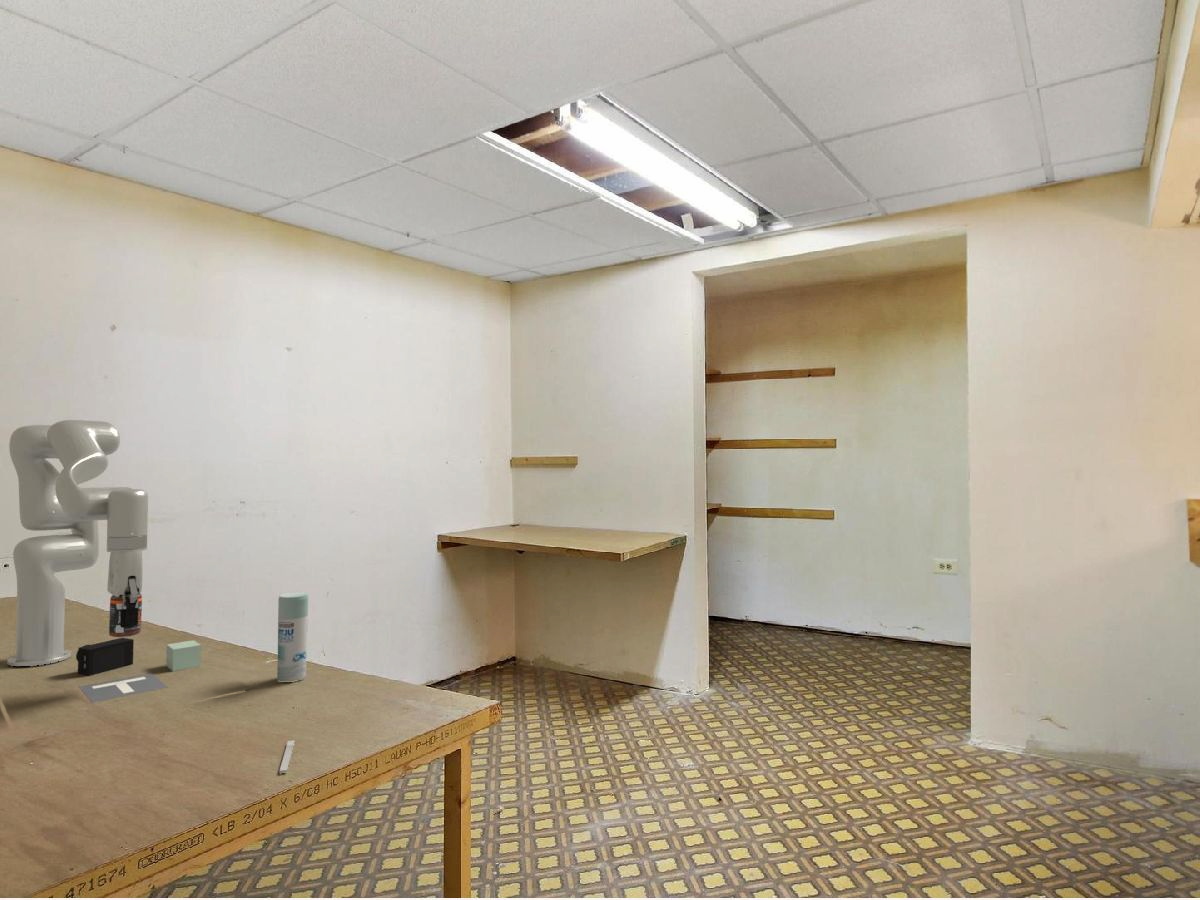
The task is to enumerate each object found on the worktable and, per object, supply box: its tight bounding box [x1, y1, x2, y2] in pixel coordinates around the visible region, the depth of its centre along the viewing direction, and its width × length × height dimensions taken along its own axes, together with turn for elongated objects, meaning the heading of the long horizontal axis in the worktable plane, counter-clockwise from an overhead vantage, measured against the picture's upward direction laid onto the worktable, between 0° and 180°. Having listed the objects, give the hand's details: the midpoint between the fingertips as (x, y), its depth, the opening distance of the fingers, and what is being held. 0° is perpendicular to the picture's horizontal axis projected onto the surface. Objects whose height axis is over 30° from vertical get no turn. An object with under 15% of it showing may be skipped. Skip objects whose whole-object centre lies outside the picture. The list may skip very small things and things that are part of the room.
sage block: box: [165, 640, 202, 672], centre depth 169 cm, size 6×6×6 cm
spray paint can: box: [276, 591, 309, 681], centre depth 162 cm, size 6×6×20 cm
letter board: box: [78, 672, 169, 703], centre depth 153 cm, size 14×14×1 cm
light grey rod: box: [278, 739, 295, 773], centre depth 120 cm, size 12×1×1 cm, turn 19°
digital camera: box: [75, 637, 135, 677], centre depth 166 cm, size 10×5×7 cm, turn 158°
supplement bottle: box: [108, 592, 143, 638], centre depth 153 cm, size 6×6×11 cm
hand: (125, 623), depth 153 cm, fingers closed on supplement bottle, 6 cm apart
